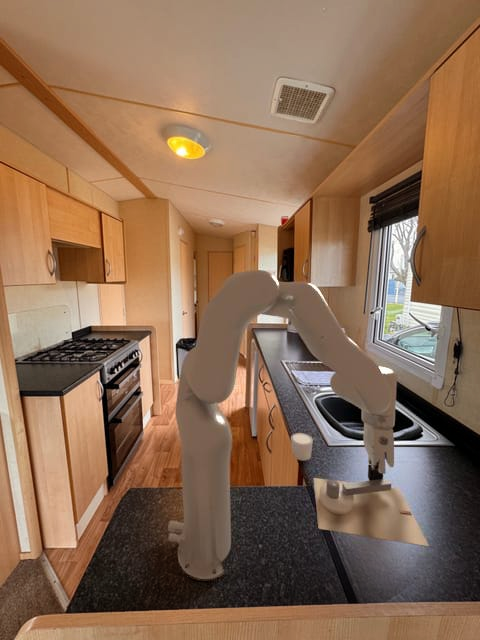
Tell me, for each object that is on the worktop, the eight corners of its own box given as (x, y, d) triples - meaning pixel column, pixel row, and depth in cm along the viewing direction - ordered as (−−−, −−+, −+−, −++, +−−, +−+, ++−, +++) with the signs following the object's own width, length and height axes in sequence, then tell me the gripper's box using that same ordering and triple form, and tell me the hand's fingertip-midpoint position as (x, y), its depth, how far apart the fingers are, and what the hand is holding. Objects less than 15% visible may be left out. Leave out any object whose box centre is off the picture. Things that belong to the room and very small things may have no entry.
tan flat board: (318, 534, 60) (318, 527, 60) (313, 482, 75) (313, 477, 75) (428, 552, 56) (429, 545, 55) (399, 493, 71) (399, 487, 71)
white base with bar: (328, 516, 62) (328, 498, 62) (314, 490, 70) (314, 474, 70) (399, 507, 65) (400, 489, 64) (378, 483, 72) (379, 467, 72)
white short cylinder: (287, 462, 84) (287, 441, 83) (293, 450, 90) (294, 430, 89) (309, 468, 81) (310, 447, 80) (314, 455, 87) (315, 435, 86)
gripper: (406, 433, 60) (402, 505, 63) (383, 403, 75) (381, 463, 77) (370, 430, 62) (367, 502, 64) (355, 402, 76) (353, 461, 79)
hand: (375, 480), depth 71 cm, fingers closed
